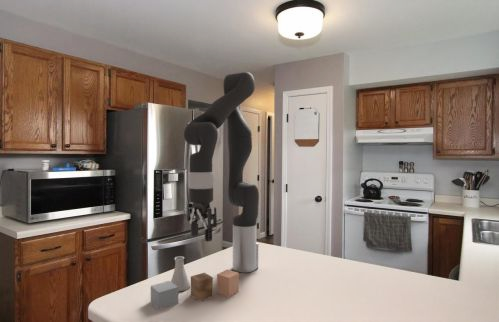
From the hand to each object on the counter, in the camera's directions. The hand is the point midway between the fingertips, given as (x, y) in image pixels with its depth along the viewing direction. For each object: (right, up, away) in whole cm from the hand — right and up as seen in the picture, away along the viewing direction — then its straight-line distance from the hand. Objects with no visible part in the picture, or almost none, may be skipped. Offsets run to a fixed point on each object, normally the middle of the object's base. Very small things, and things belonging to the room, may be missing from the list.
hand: (201, 238), depth 97 cm
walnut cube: (0, -18, 0) cm, 18 cm away
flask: (-8, -18, +6) cm, 21 cm away
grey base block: (-10, -18, -5) cm, 21 cm away
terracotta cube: (+8, -18, +3) cm, 20 cm away
